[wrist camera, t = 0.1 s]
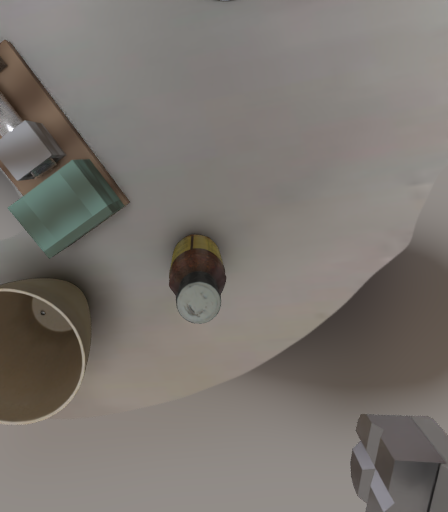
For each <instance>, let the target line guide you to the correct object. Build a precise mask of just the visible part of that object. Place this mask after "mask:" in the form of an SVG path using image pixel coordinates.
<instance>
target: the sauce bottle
mask: <svg viewBox="0 0 448 512" xmlns="http://www.w3.org/2000/svg"><path fill="white" fill-rule="evenodd" d="M169 279H170V280H169V287H170V288H171V290H172V291H173V292H174V294H175V295H176V304H177V309H178V311H179V313H180V315H181V316H182V317H183V318H184V319H186V320H187V321H189V322H192V323H199V324H202V323H206V322H208V321H210V320H212V319H213V318H214V317H215V316H216V315H217V314H218V312H219V309H220V306H221V296H220V295H221V293H222V291H223V288H224V285H225V282H226V275H225V269H224V265H223V262H222V259H221V255H220V252H219V249H218V247H217V245H216V244H215V243H214V242H213V241H212V240H211V239H210V238H209V237H205V236H203V235H189V236H186V237H185V238H183V239H182V240H181V241H180V242H179V243H178V244H177V245H176V247H175V249H174V252H173V256H172V262H171V268H170V273H169Z"/></svg>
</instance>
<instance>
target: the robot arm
mask: <svg viewBox="0 0 448 512" xmlns="http://www.w3.org/2000/svg"><path fill="white" fill-rule="evenodd" d="M222 1H228V0H222ZM356 432H357V434H358V436H359V438H360V440H361V441H360V442H359V443H358V444H357V445H356V446H355V447H354V448H353V449H352V456H351V462H350V465H351V478H352V482H353V486H354V489H355V491H356V493H357V496H358V497H359V498H361V499H362V500H363V501H364V502H366V503H367V507H366V512H448V435H447V434H446V433H445V432H444V431H443V429H442V428H441V427H440V426H439V425H438V423H437V422H436V421H435V420H434V419H433V418H431V417H429V416H401V415H374V414H361V415H360V417H359V419H358V422H357V427H356Z"/></svg>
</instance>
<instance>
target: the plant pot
mask: <svg viewBox="0 0 448 512" xmlns="http://www.w3.org/2000/svg"><path fill="white" fill-rule="evenodd" d="M41 312H45V314H44V315H42V314H41ZM90 344H91V317H90V310H89V306H88V303H87V300H86V298H85V296H84V294H83V292H82V291H81V290H80V289H79V288H78V287H77V286H75V285H74V284H72V283H70V282H67V281H64V280H59V279H51V278H36V279H26V280H19V281H14V282H10V283H6V284H2V285H0V423H1V424H9V425H22V424H30V423H34V422H39V421H41V420H44V419H47V418H49V417H51V416H53V415H55V414H56V413H58V412H59V411H61V410H62V409H63V408H64V407H65V406H66V405H67V404H68V403H69V402H70V401H71V400H72V399H73V397H74V396H75V395H76V393H77V391H78V390H79V388H80V385H81V383H82V380H83V377H84V373H85V369H86V365H87V361H88V356H89V351H90Z"/></svg>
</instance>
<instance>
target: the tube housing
mask: <svg viewBox="0 0 448 512" xmlns="http://www.w3.org/2000/svg"><path fill="white" fill-rule="evenodd" d="M0 57H1V58H2V59H3V61H4V62H5V63H6V65H7V67H6V68H4V69H3V70H2V71H0V92H1V93H2V94H3V95H4V97H5V98H6V99H7V101H8V102H9V103H10V104H11V106H12V107H13V108H14V110H15V111H16V112H17V113H18V115H19V116H20V117H21V119H22V120H23V122H22V123H21V124H19V125H18V126H17V127H15V128H14V129H13V130H12V131H10V132H9V133H8V134H6V135H5V136H4V137H2V136H1V135H0V167H1V169H2V170H3V171H4V172H5V174H6V175H7V176H8V177H9V178H10V180H11V181H12V182H13V183H14V185H15V186H16V187H17V188H18V190H19V191H20V192H21V193H22V195H23V197H22V198H20V199H19V200H18V201H16V202H15V203H14V204H12V205H11V206H10V207H8V209H9V210H10V212H11V213H12V214H13V215H14V216H15V218H16V219H17V220H18V221H19V222H20V224H21V225H22V226H23V227H24V229H25V230H26V231H27V232H28V233H29V235H30V236H31V237H32V238H33V239H34V241H35V242H36V243H37V244H38V246H39V247H40V248H41V249H42V250H43V252H44V253H45V254H46V255H47V256H48V258H49V259H50V258H52V257H53V256H55V255H56V254H58V253H59V252H61V251H62V250H64V249H65V248H67V247H69V246H70V245H71V244H73V243H74V242H76V241H77V240H78V239H80V238H81V237H83V236H84V235H85V234H87V233H88V232H90V231H91V230H92V229H94V228H95V227H97V226H98V225H99V224H101V223H102V222H103V221H105V220H106V219H108V218H109V217H110V216H112V215H113V214H115V213H116V212H117V211H119V210H120V209H122V208H123V207H124V206H126V205H127V204H129V203H130V201H129V200H128V199H127V197H126V196H125V195H124V193H123V192H122V191H121V189H120V188H119V187H118V185H117V184H116V183H115V181H114V180H113V179H112V177H111V176H110V175H109V173H108V172H107V171H106V169H105V168H104V167H103V165H102V164H101V163H100V161H99V160H98V159H97V157H96V156H95V155H94V153H93V152H92V151H91V149H90V148H89V147H88V145H87V144H86V143H85V141H84V140H83V139H82V137H81V136H80V135H79V133H78V132H77V131H76V129H75V128H74V127H73V125H72V124H71V123H70V121H69V120H68V119H67V117H66V116H65V115H64V113H63V112H62V111H61V109H60V108H59V107H58V105H57V104H56V103H55V101H54V100H53V99H52V97H51V96H50V95H49V93H48V92H47V91H46V89H45V88H44V87H43V85H42V84H41V83H40V81H39V80H38V79H37V77H36V76H35V75H34V73H33V72H32V71H31V69H30V68H29V67H28V65H27V64H26V63H25V61H24V60H23V59H22V57H21V56H20V55H19V53H18V52H17V51H16V49H15V48H14V47H13V45H12V44H11V43H10V42H8V41H6V40H4V41H3V42H1V43H0ZM49 158H52V159H53V160H54V161H55V162H56V164H57V165H56V166H55V167H54V168H53V169H52V170H50V171H49V172H48V173H46V174H44V175H43V176H41V177H39V178H34V177H33V175H32V174H31V172H32V171H33V170H35V169H36V168H37V167H39V166H40V165H41V164H43V163H44V162H45V161H47V160H48V159H49Z"/></svg>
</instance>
